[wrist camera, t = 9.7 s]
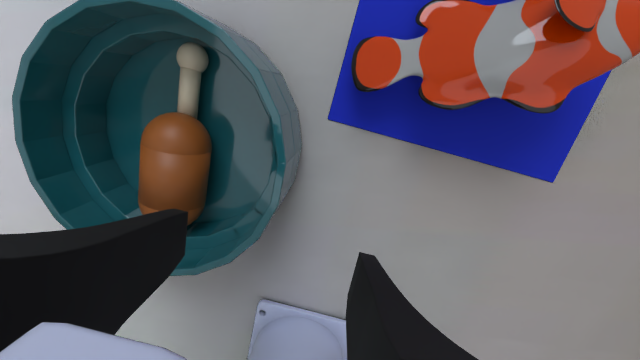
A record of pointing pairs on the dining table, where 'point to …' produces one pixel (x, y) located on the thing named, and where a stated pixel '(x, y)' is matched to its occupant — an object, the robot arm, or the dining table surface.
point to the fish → (484, 74)
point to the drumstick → (177, 147)
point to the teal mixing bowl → (143, 106)
